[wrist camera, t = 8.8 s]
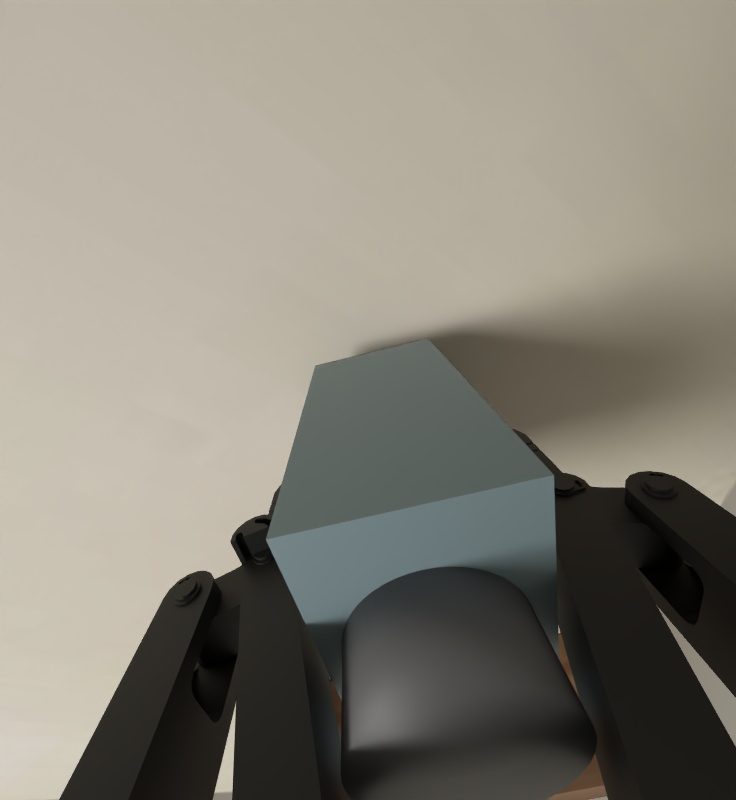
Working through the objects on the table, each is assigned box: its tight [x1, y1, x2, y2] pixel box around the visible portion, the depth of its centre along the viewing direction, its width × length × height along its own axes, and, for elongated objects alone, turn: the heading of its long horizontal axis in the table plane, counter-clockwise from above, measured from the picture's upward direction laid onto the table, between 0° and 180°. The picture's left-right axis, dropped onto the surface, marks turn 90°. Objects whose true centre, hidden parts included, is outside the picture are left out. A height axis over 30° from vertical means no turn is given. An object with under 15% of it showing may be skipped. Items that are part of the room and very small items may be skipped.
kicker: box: [266, 338, 597, 800], centre depth 11 cm, size 7×5×12 cm
